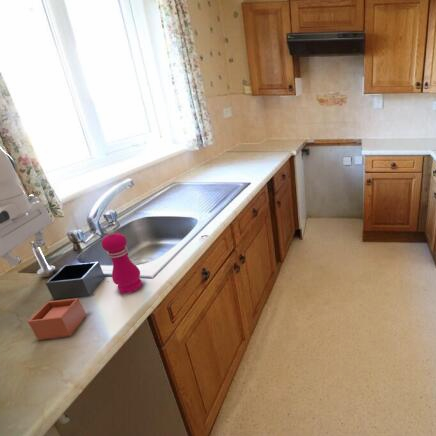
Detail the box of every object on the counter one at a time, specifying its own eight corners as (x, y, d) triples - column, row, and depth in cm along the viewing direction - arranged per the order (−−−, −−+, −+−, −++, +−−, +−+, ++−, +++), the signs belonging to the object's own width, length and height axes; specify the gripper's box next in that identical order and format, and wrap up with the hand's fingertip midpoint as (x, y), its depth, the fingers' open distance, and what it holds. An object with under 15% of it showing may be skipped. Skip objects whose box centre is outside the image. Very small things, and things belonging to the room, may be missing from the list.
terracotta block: (48, 332, 82) (41, 319, 80) (59, 320, 86) (52, 307, 84) (67, 330, 83) (60, 317, 81) (76, 318, 87) (70, 305, 85)
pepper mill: (136, 277, 104) (117, 222, 95) (148, 285, 100) (129, 227, 91) (113, 289, 98) (89, 231, 90) (124, 297, 95) (101, 238, 86)
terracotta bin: (37, 340, 81) (27, 321, 78) (56, 319, 87) (47, 301, 85) (70, 336, 81) (61, 317, 79) (86, 315, 88) (78, 297, 86)
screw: (40, 274, 108) (58, 269, 110) (38, 281, 104) (57, 275, 107) (23, 240, 102) (42, 235, 105) (20, 246, 99) (40, 241, 101)
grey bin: (53, 299, 95) (45, 283, 93) (72, 280, 104) (64, 265, 101) (89, 295, 96) (82, 279, 94) (105, 277, 105) (98, 261, 102)
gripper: (22, 193, 89) (42, 237, 95) (-45, 225, 71) (-15, 277, 77) (47, 191, 90) (65, 235, 96) (-13, 223, 71) (14, 275, 77)
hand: (29, 254), depth 86 cm, fingers open, 8 cm apart
